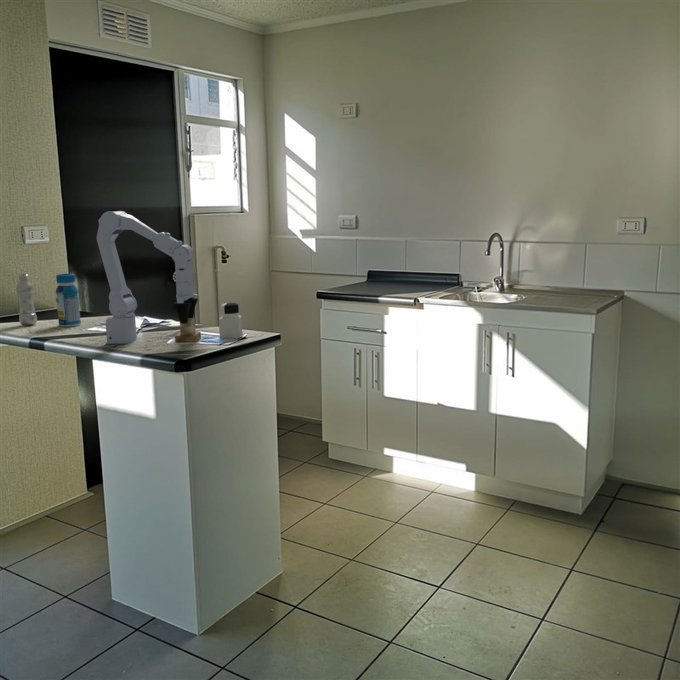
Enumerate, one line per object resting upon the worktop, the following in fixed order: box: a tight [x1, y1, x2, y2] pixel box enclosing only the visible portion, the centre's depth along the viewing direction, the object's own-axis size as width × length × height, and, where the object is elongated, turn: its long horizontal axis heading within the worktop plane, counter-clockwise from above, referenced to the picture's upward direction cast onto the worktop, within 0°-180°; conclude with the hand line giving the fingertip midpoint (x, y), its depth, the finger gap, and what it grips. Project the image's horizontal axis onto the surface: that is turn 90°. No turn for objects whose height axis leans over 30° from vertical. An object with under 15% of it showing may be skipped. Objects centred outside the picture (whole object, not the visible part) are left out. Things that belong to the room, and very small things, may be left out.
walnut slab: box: [174, 331, 202, 343], centre depth 243 cm, size 7×7×2 cm
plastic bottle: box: [15, 273, 38, 327], centre depth 281 cm, size 6×7×20 cm
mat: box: [167, 336, 206, 345], centre depth 243 cm, size 10×12×1 cm
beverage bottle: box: [55, 273, 82, 328], centre depth 279 cm, size 8×8×20 cm
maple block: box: [179, 317, 196, 335], centre depth 243 cm, size 4×4×5 cm
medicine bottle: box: [218, 302, 243, 339], centre depth 250 cm, size 7×7×12 cm
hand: (186, 321), depth 242 cm, fingers open, 7 cm apart
